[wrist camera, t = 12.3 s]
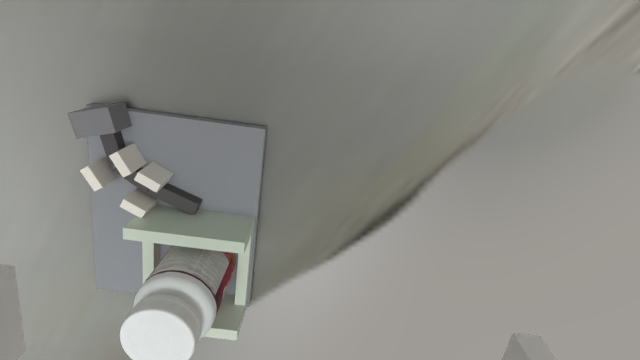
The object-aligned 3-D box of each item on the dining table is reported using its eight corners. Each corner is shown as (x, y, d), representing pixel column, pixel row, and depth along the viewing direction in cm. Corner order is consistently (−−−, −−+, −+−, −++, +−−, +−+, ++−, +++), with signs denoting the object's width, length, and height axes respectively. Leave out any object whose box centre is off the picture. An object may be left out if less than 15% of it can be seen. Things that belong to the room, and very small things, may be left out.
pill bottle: (212, 295, 39) (170, 391, 28) (158, 260, 38) (94, 346, 27) (249, 253, 38) (220, 338, 27) (195, 214, 36) (142, 287, 26)
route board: (93, 94, 34) (62, 101, 30) (267, 118, 35) (260, 128, 31) (102, 281, 40) (78, 307, 36) (251, 299, 41) (243, 327, 37)
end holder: (149, 203, 36) (122, 227, 31) (255, 216, 36) (244, 242, 32) (149, 293, 39) (125, 327, 34) (247, 304, 39) (236, 340, 35)
